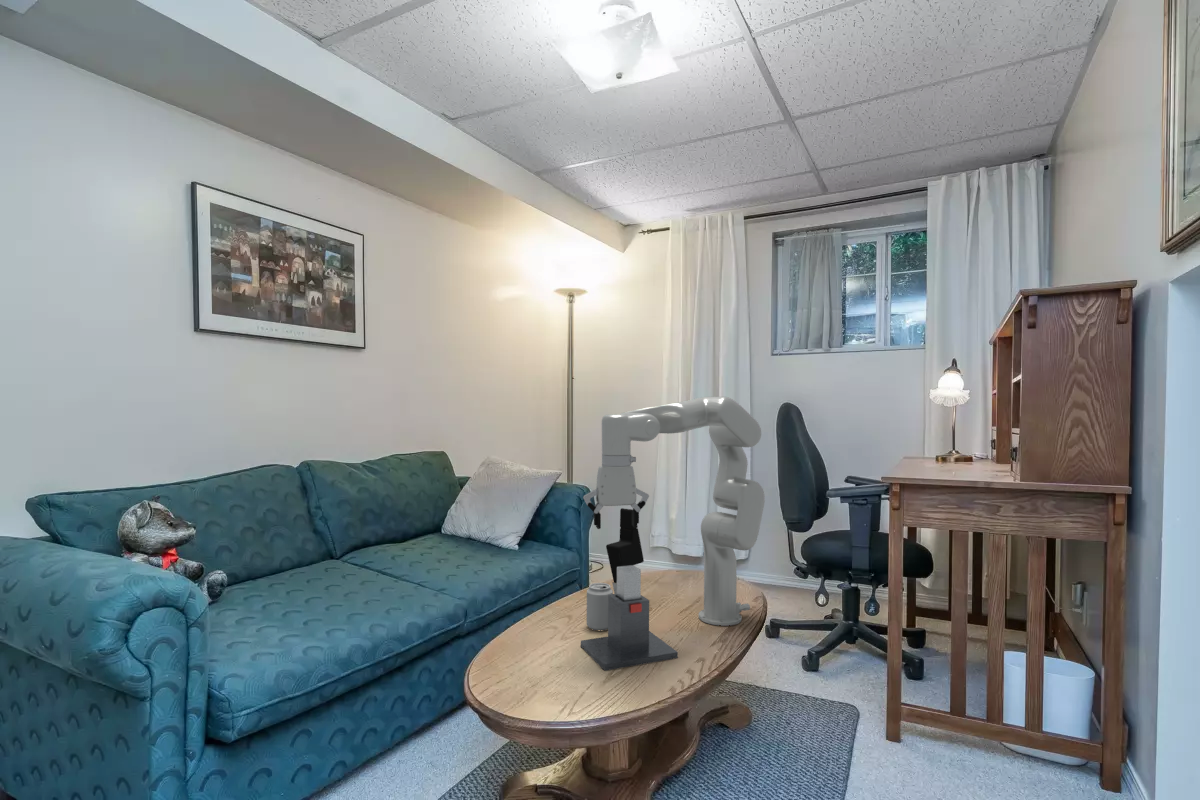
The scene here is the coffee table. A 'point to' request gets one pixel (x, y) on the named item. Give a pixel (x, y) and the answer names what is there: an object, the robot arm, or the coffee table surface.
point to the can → (598, 606)
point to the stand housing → (627, 637)
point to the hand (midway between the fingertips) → (616, 527)
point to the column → (628, 583)
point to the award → (625, 546)
